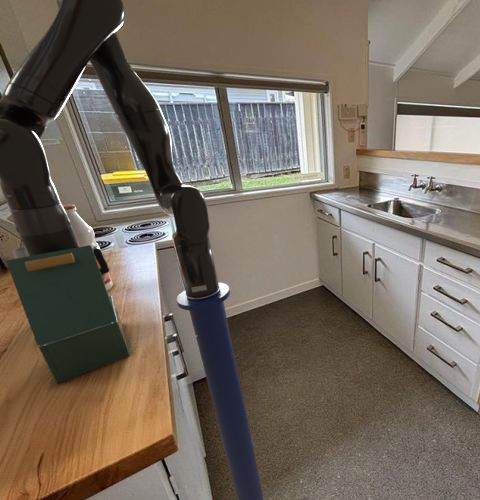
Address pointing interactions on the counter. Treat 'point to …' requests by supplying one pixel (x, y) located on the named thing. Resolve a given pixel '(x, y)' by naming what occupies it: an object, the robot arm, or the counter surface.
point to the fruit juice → (85, 236)
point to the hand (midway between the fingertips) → (75, 298)
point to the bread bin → (86, 350)
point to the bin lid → (61, 293)
